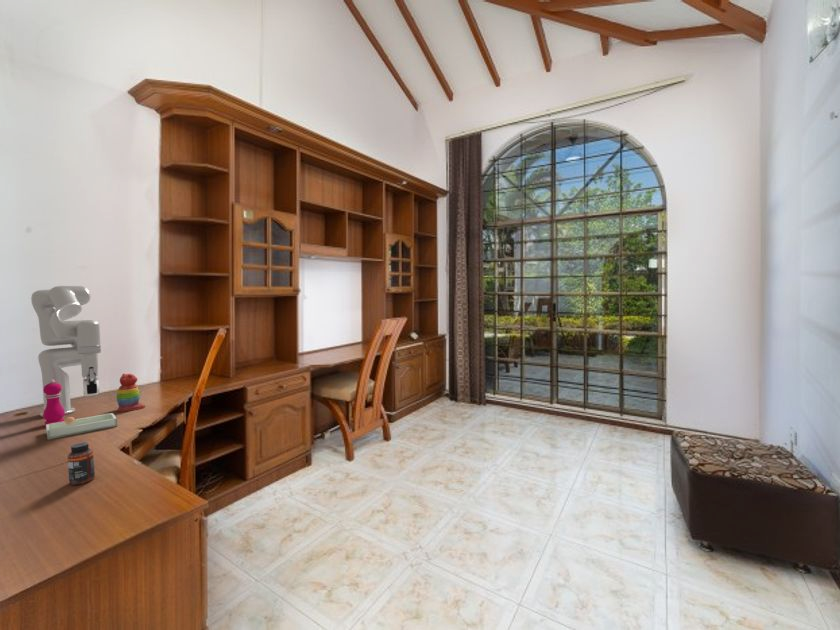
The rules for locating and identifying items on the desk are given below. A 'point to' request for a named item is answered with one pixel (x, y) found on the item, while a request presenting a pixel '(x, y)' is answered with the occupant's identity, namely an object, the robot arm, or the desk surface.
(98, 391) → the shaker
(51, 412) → the pepper mill
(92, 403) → the desk surface
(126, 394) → the stacking bear
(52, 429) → the tray
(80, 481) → the supplement bottle
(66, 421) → the ball
